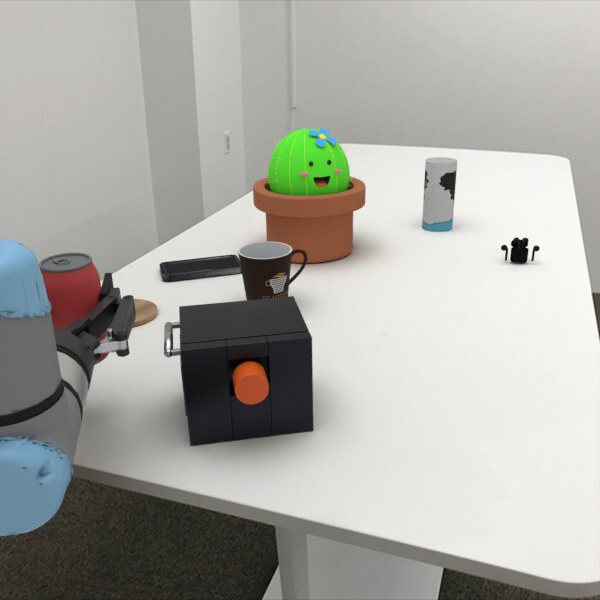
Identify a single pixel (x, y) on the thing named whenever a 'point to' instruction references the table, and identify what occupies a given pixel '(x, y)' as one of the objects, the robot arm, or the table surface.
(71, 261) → the beer can
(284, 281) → the coffee mug
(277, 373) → the black drawer box
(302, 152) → the potted cactus
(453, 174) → the white patterned cylinder
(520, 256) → the wireless earbuds
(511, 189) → the table surface
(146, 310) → the wooden coaster
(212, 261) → the phone
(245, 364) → the button
